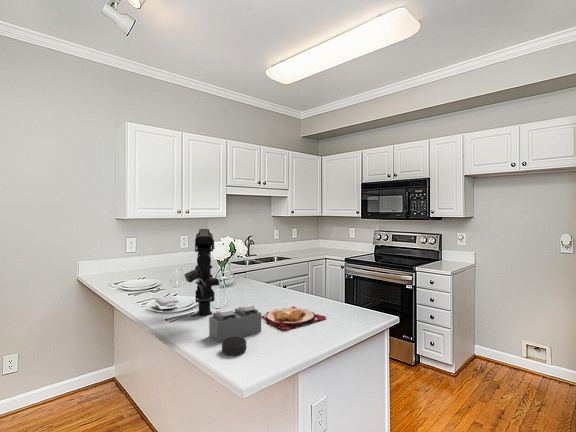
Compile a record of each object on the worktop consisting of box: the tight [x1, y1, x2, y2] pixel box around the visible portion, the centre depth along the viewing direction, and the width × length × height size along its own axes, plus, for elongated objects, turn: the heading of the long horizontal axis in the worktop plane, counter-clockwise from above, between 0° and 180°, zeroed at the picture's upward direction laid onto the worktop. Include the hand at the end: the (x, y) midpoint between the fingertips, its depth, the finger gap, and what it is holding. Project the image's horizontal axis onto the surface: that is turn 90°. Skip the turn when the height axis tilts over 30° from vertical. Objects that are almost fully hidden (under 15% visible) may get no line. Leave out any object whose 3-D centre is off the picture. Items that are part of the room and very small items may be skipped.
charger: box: [155, 295, 179, 307], centre depth 181 cm, size 5×9×15 cm
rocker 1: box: [215, 308, 234, 316], centre depth 142 cm, size 6×4×2 cm
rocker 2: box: [237, 305, 256, 311], centre depth 148 cm, size 6×4×2 cm
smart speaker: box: [221, 337, 247, 356], centre depth 129 cm, size 9×9×4 cm
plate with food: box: [261, 306, 327, 331], centre depth 166 cm, size 25×26×4 cm
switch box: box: [208, 308, 262, 343], centre depth 146 cm, size 8×20×9 cm, turn 126°
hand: (204, 298), depth 156 cm, fingers closed
